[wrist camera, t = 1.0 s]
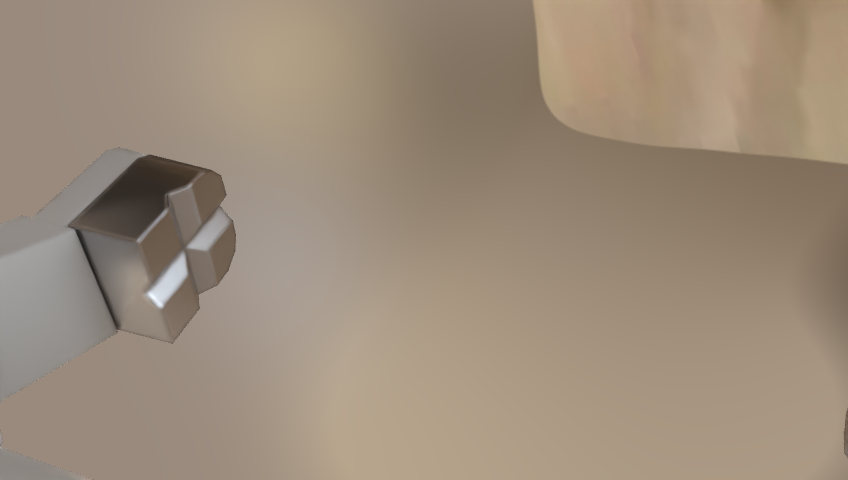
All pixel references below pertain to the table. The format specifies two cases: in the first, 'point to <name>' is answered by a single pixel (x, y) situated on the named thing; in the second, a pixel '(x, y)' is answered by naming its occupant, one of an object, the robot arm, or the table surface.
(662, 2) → the table surface
